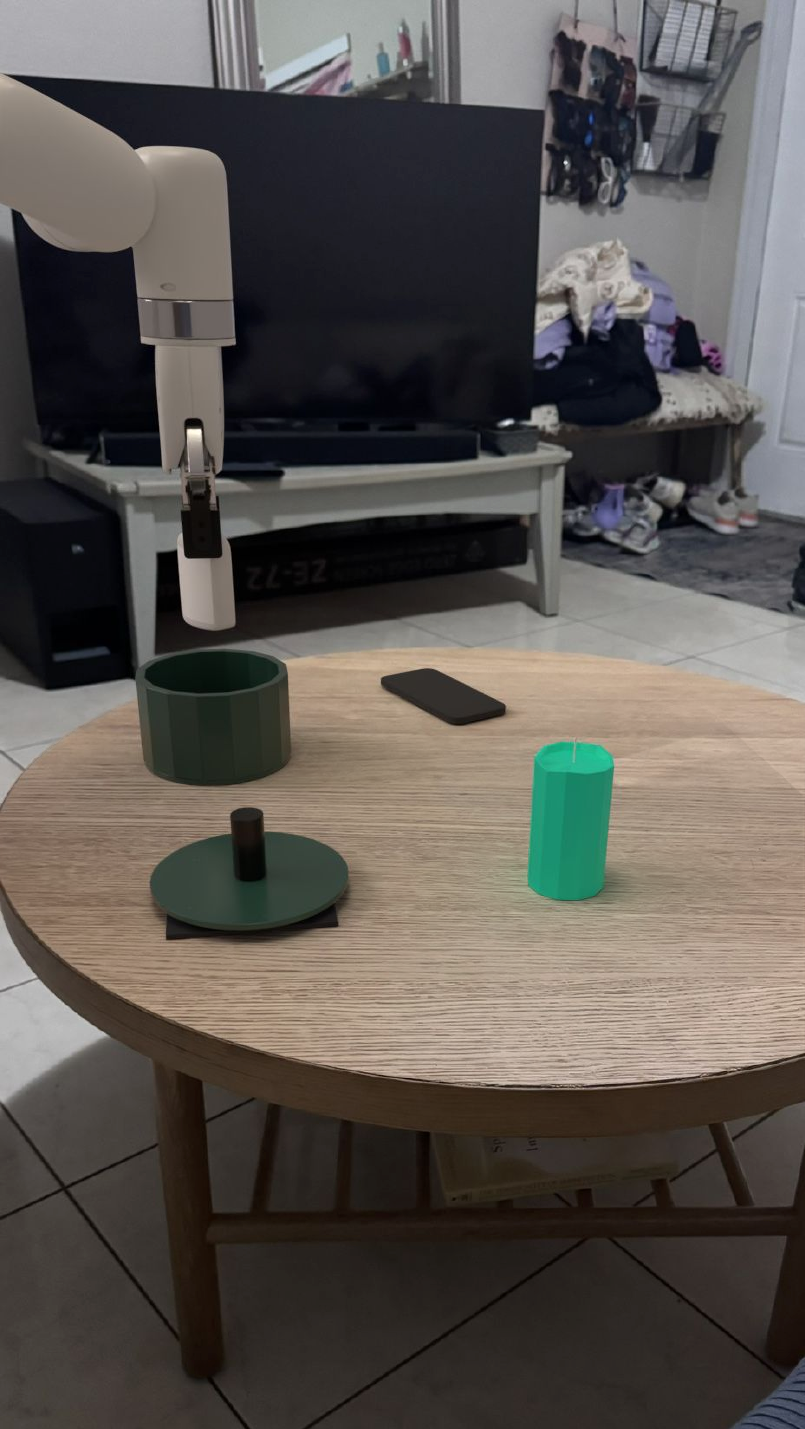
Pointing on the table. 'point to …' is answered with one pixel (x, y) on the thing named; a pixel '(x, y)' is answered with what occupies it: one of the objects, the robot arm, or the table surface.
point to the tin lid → (249, 877)
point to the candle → (570, 820)
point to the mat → (185, 930)
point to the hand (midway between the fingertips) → (203, 547)
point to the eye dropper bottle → (207, 589)
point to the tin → (214, 716)
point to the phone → (443, 695)
